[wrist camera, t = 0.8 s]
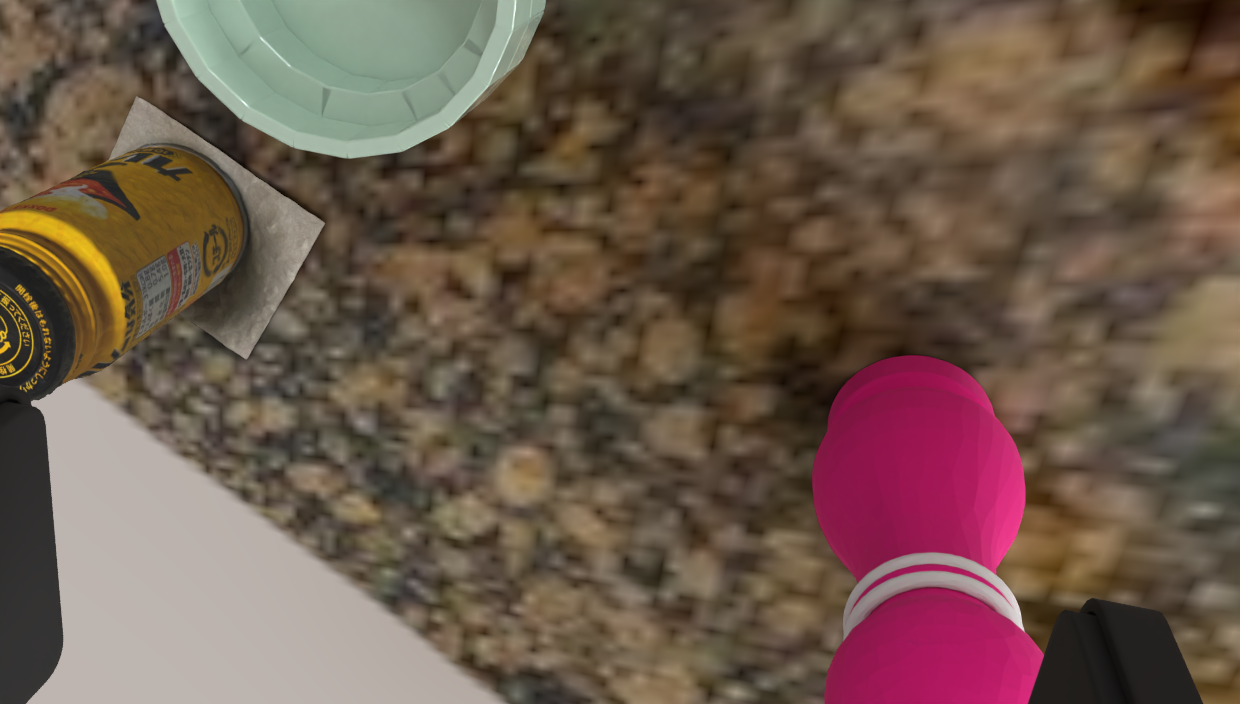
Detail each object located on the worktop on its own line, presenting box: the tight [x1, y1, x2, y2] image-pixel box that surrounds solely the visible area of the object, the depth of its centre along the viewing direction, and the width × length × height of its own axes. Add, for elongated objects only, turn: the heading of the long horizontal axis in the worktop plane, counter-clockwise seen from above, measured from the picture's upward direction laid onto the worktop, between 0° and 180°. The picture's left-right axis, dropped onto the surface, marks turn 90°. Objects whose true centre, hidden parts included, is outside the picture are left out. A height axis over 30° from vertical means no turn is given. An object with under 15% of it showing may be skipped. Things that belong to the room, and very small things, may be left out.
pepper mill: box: [812, 355, 1044, 704], centre depth 36 cm, size 7×7×20 cm
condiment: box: [0, 96, 325, 401], centre depth 42 cm, size 7×8×12 cm
